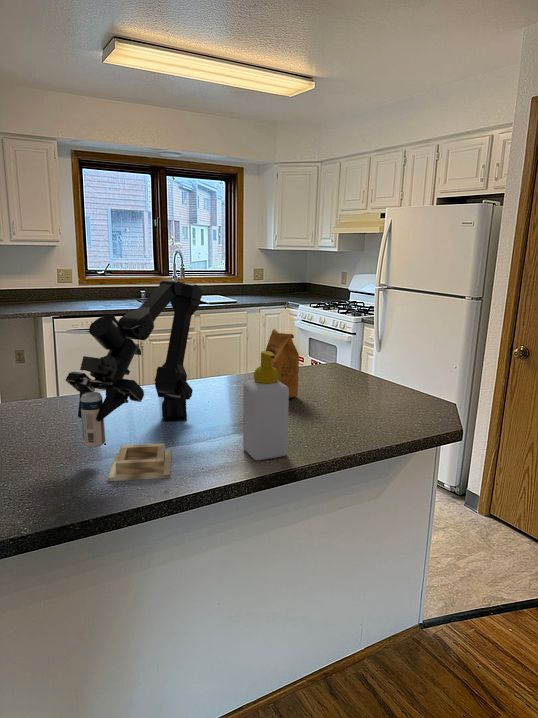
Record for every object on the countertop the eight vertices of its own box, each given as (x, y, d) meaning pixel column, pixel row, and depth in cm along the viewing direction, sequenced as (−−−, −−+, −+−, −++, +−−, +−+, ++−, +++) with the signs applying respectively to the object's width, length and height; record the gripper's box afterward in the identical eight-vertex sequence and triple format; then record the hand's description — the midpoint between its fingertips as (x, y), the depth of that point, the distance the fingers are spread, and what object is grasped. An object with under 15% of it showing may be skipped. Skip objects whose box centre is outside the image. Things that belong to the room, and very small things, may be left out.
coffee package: (282, 389, 177) (284, 327, 172) (301, 398, 166) (303, 333, 161) (257, 392, 172) (258, 329, 167) (275, 402, 162) (277, 335, 157)
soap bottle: (254, 462, 117) (255, 357, 112) (241, 448, 125) (241, 349, 120) (289, 456, 121) (292, 354, 115) (274, 443, 129) (276, 347, 123)
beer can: (109, 444, 116) (106, 394, 113) (90, 450, 112) (86, 399, 109) (99, 438, 119) (95, 389, 116) (79, 444, 115) (75, 394, 113)
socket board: (171, 453, 122) (171, 440, 121) (170, 477, 109) (169, 463, 108) (116, 456, 120) (115, 443, 119) (108, 481, 107) (107, 466, 106)
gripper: (67, 338, 117) (34, 396, 110) (133, 345, 110) (102, 408, 103) (93, 363, 126) (64, 419, 119) (156, 371, 119) (129, 431, 112)
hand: (88, 419), depth 113 cm, fingers closed on beer can, 5 cm apart
